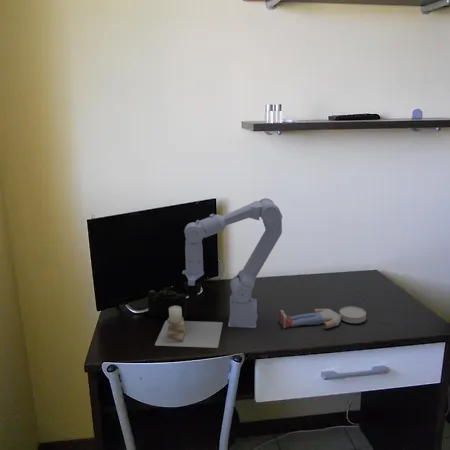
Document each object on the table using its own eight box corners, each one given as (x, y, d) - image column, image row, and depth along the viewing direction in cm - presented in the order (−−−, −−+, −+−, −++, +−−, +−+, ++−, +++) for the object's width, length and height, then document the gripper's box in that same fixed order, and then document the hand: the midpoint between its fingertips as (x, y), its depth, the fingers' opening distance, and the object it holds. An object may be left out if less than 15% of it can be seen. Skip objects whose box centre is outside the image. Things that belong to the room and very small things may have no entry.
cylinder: (182, 318, 158) (182, 305, 156) (181, 324, 154) (180, 311, 152) (170, 318, 158) (169, 305, 156) (168, 324, 154) (167, 311, 153)
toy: (286, 320, 159) (373, 311, 163) (276, 304, 171) (357, 296, 175) (286, 336, 160) (372, 326, 165) (276, 319, 172) (357, 310, 177)
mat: (222, 323, 168) (222, 322, 168) (217, 348, 151) (217, 347, 151) (165, 321, 170) (165, 320, 169) (154, 346, 153) (154, 345, 153)
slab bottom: (185, 334, 160) (184, 326, 159) (182, 342, 155) (182, 333, 154) (170, 334, 160) (169, 325, 159) (167, 341, 155) (166, 333, 154)
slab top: (183, 325, 159) (183, 317, 158) (184, 333, 154) (183, 324, 154) (168, 326, 159) (167, 318, 158) (168, 334, 154) (167, 325, 153)
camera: (193, 308, 179) (192, 283, 177) (183, 321, 169) (182, 295, 167) (157, 305, 183) (156, 280, 180) (146, 317, 173) (145, 291, 170)
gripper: (185, 251, 167) (186, 288, 171) (178, 266, 153) (179, 306, 157) (206, 252, 167) (206, 288, 170) (200, 267, 153) (201, 306, 157)
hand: (195, 297), depth 164 cm, fingers open, 7 cm apart
